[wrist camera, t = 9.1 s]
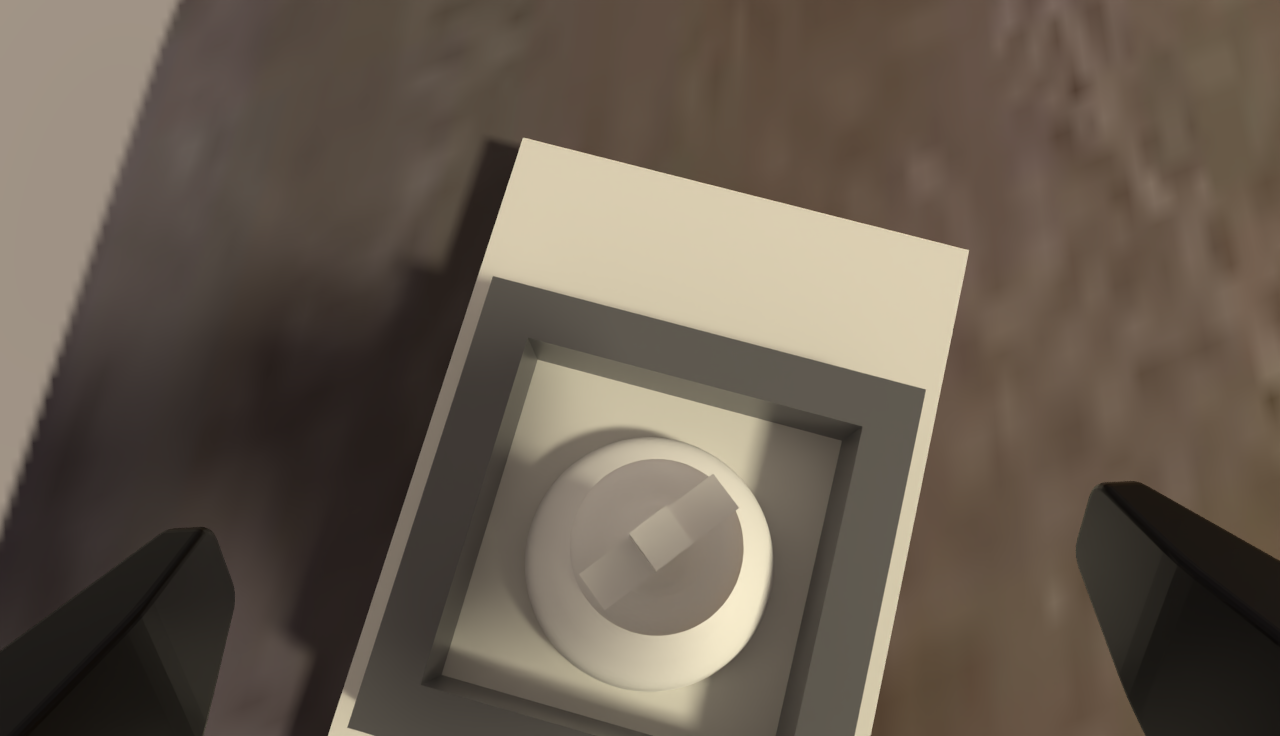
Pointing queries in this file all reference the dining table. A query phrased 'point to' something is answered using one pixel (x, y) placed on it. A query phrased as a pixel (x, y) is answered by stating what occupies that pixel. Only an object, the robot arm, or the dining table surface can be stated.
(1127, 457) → the dining table surface
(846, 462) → the board
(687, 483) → the chess piece
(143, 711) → the robot arm
